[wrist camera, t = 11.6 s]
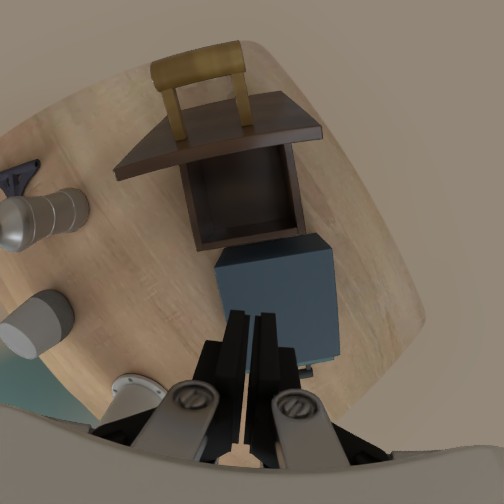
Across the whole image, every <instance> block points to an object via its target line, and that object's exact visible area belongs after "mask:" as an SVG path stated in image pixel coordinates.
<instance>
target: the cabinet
mask: <svg viewBox="0 0 504 504" xmlns="http://www.w3.org/2000/svg"><path fill="white" fill-rule="evenodd" d="M214 271H215V276H216V280H217V284H218V289H219V293H220V297H221V302H222V306H223V310H224V314H225V319H226V323H227V322H228V318H229V314H230V310H231V309H232V310H242V311H245V315H250V325H249V337H248V348H247V360H246V370H250V362H251V352H252V342H253V331H254V321H255V315H256V316H261V312H266V313H275V314H276V326H277V339H278V347H291V348H295V353H296V359H297V363H301V362H307V361H313V360H318V359H323V358H329V357H334V356H338V355H340V341H339V322H338V307H337V294H336V282H335V271H334V261H333V252H332V248H331V247H330V246H329V245H328V244H327V243H326V242H325V241H324V240H323V239H322V238H321V237H320V236H319V235H318V234H317V233H312V234H306V235H300V236H294V237H288V238H282V239H276V240H270V241H264V242H258V243H252V244H246V245H240V246H234V247H228V248H224V250H223V252H222V254H221V256H220V257H219V259H218V261H217V263H216V265H215V267H214Z"/></svg>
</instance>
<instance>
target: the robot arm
mask: <svg viewBox="0 0 504 504" xmlns="http://www.w3.org/2000/svg"><path fill="white" fill-rule="evenodd" d="M249 325H250V315H245V311H242V310H232V309H231V310H230V314H229V318H228V322H227V326H226V330H225V334H224V338H223V342H218V341H210V340H206V341H205V344H204V346H203V349H202V352H201V355H200V358H199V361H198V364H197V367H196V370H195V373H194V376H193V379H192V380H185V381H182V382H179V383H177V384H175V385H173V386H172V387H171V388H170V389H169V391H168V392H167V391H166V390H165V389H164V388H163V387H162V386H160V385H159V384H158V383H156V382H155V381H153V380H151V379H149V378H147V377H144V376H141V375H136V374H125V375H122V376H120V377H118V378H117V379H116V380H115V382H114V383H113V385H112V395H113V398H114V399H113V401H112V402H111V404H110V406H109V407H108V409H107V411H106V412H105V414H104V415H103V417H102V419H101V420H100V422H99V424H98V425H97V427H96V429H93V428H92V427H91V425H89V424H82V423H77V422H71V421H65V420H61V419H56V418H51V417H47V416H43V415H39V414H36V413H33V412H31V411H28V410H25V409H22V408H18V407H14V406H11V405H7V404H0V504H504V448H502V447H497V446H491V445H474V446H464V447H457V448H451V449H445V450H434V451H433V450H432V451H392V452H391V454H386V453H385V452H384V451H383V450H381V449H380V448H378V447H376V446H374V445H372V444H370V443H368V442H366V441H365V440H363V439H361V438H359V437H357V436H355V435H353V434H352V433H350V432H348V431H346V430H344V429H343V428H341V427H339V426H337V425H335V424H334V423H332V422H331V421H330V419H329V417H328V415H327V412H326V410H325V408H324V406H323V403H322V402H321V400H320V399H319V398H318V397H317V396H316V395H315V394H313V393H311V392H309V391H306V390H302V389H301V385H300V378H299V372H298V366H297V359H296V353H295V348H291V347H278V339H277V326H276V314H275V313H266V312H261V316H256V315H255V321H254V331H253V342H252V352H251V362H250V373H249V384H248V397H247V410H246V422H245V434H244V444H248V445H250V453H251V454H253V455H254V456H255V457H256V458H258V459H259V460H260V468H248V467H236V466H226V465H218V461H219V457H220V456H222V455H224V454H226V453H227V452H231V447H232V443H236V444H238V442H239V432H240V422H241V412H242V402H243V392H244V382H245V371H246V360H247V348H248V337H249Z"/></svg>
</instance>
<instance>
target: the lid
mask: <svg viewBox="0 0 504 504" xmlns="http://www.w3.org/2000/svg"><path fill="white" fill-rule="evenodd" d="M150 72H151V78H152V81H153V84H154V86H155V88H156V89H157V91H158V92H161V93H162V97H163V100H164V104H165V107H166V111H167V116H166V117H165V118H164V119H163V120H162V121H161V122H160V123H159V124H158V125H157V126H155V127H154V128H153V129H152V130H151V131H150V132H149V133H148V134H147V135H146V136H145V137H144V138H143V139H142V140H141V141H140V142H139V143H138V144H137V145H136V146H135V147H134V148H133V149H132V150H131V151H130V152H129V153H128V154H127V155H126V156H125V157H124V158H123V160H122V161H121V162H120V163H119V164H118V165H117V166H116V167H115V168H114V169H113V172H114V175H115V177H116V180H117V181H121V180H124V179H128V178H131V177H135V176H138V175H142V174H145V173H149V172H152V171H156V170H160V169H164V168H168V167H172V166H176V165H180V164H184V163H188V162H192V161H197V160H201V159H206V158H210V157H215V156H220V155H225V154H230V153H235V152H240V151H246V150H251V149H257V148H263V147H269V146H275V145H282V144H289V143H296V142H303V141H311V140H319V139H323V134H322V126H321V125H320V124H319V123H318V122H317V121H316V120H315V119H314V118H312V117H311V116H310V115H309V114H308V113H307V112H306V111H304V110H303V109H302V108H301V107H300V106H299V105H297V104H296V103H295V102H294V101H293V100H292V99H290V98H289V97H288V96H287V95H285V94H284V93H283V92H282V91H275V92H268V93H262V94H255V95H249V96H248V93H247V88H246V83H245V78H244V73H243V72H246V69H245V63H244V58H243V53H242V49H241V44H240V41H239V40H237V41H231V42H226V43H221V44H216V45H212V46H207V47H203V48H199V49H195V50H191V51H187V52H184V53H180V54H176V55H173V56H170V57H166V58H163V59H160V60H157V61H154V62H152V63H151V66H150ZM227 75H231V78H232V83H233V88H234V93H235V97H236V98H233V99H228V100H223V101H218V102H214V103H209V104H205V105H201V106H197V107H192V108H189V109H185V110H181V109H180V105H179V101H178V97H177V93H176V89H175V88H177V87H181V86H184V85H188V84H192V83H196V82H200V81H204V80H208V79H213V78H217V77H222V76H227Z"/></svg>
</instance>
